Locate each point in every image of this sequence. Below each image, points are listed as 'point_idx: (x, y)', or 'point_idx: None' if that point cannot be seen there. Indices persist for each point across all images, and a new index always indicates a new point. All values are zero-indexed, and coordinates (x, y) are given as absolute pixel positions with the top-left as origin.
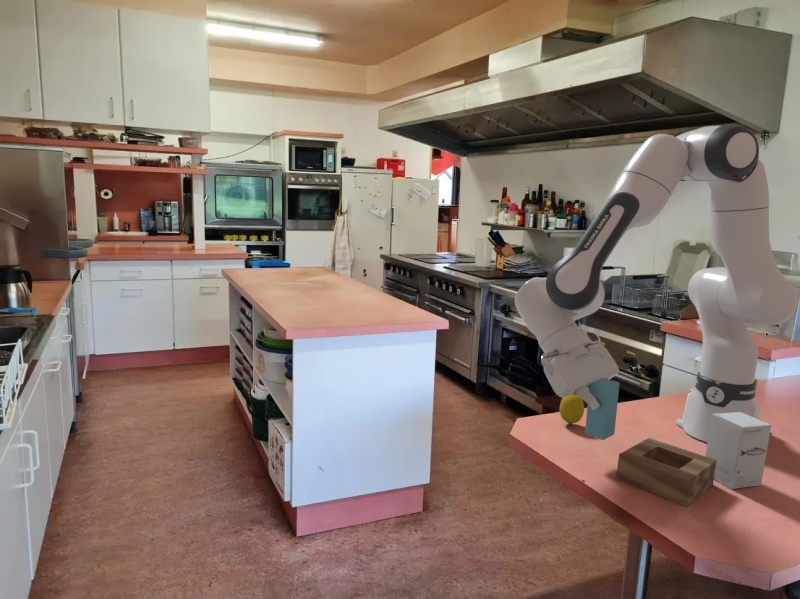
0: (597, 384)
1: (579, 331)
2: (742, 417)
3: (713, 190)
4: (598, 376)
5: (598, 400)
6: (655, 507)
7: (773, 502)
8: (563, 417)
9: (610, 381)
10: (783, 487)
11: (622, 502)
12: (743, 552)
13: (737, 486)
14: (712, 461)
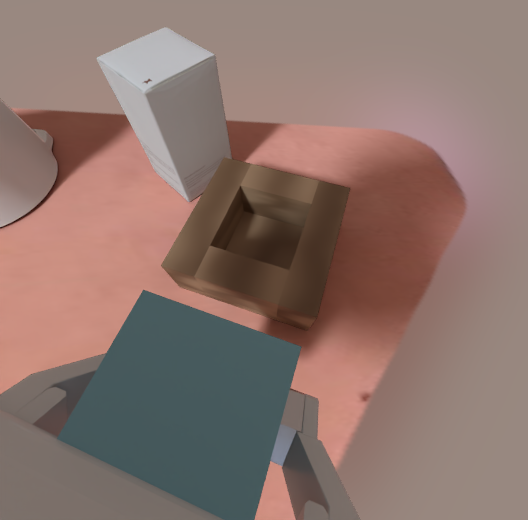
0: (272, 452)
1: None
2: (145, 52)
3: None
4: (83, 490)
5: (289, 408)
6: (374, 256)
7: (244, 135)
8: None
9: (144, 354)
10: None
11: (400, 305)
12: (411, 164)
13: None
14: (233, 162)
